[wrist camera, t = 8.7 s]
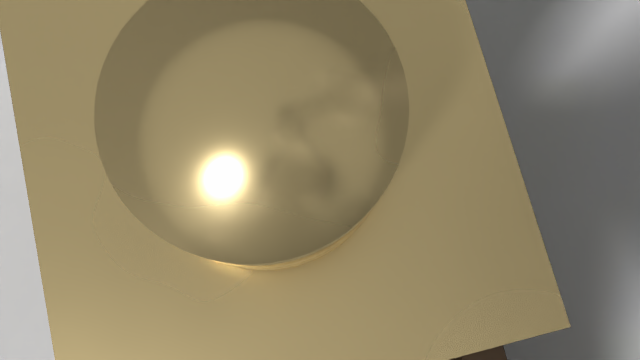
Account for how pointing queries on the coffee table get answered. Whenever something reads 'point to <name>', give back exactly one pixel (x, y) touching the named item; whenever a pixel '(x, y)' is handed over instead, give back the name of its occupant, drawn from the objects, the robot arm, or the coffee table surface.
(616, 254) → the coffee table surface
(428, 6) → the brass rider
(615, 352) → the coffee table surface
